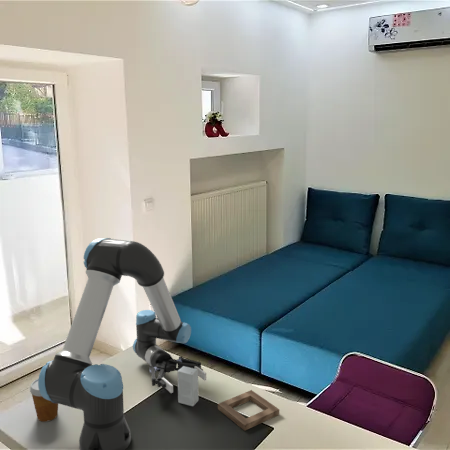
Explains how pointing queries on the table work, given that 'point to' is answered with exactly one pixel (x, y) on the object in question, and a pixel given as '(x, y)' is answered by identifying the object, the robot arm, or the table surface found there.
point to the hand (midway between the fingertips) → (189, 383)
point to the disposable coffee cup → (43, 404)
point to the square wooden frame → (254, 420)
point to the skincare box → (187, 386)
